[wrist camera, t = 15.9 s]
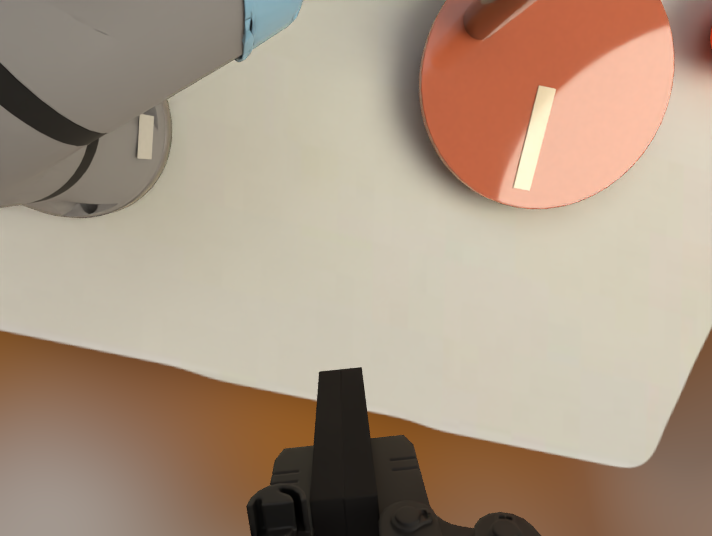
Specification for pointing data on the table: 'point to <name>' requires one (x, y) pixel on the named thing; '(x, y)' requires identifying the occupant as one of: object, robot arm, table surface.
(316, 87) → the table surface
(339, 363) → the table surface
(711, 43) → the clementine
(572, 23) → the orange disc
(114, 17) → the robot arm
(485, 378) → the table surface
